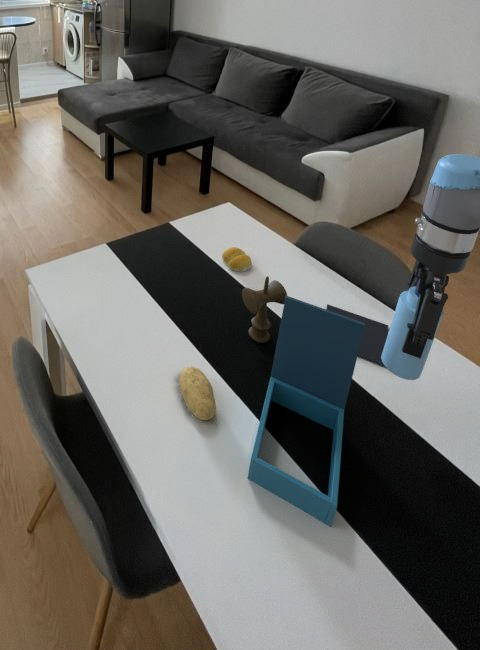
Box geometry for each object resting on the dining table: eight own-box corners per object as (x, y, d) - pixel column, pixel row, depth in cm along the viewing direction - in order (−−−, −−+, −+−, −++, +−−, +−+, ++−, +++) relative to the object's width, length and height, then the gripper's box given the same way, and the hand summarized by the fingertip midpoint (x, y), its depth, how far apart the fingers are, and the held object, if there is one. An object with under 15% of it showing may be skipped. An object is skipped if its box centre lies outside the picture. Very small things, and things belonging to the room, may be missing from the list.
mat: (387, 326, 112) (388, 325, 112) (388, 368, 101) (389, 367, 101) (327, 305, 119) (327, 304, 119) (321, 342, 108) (322, 341, 108)
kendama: (235, 332, 113) (242, 272, 105) (266, 322, 115) (275, 263, 107) (250, 351, 107) (258, 290, 100) (282, 340, 110) (293, 280, 102)
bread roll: (235, 276, 131) (236, 265, 130) (217, 257, 139) (218, 247, 138) (257, 268, 134) (259, 258, 132) (238, 251, 141) (240, 241, 140)
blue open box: (329, 533, 74) (337, 506, 71) (246, 484, 81) (250, 458, 78) (337, 434, 88) (344, 409, 86) (266, 400, 96) (270, 376, 93)
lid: (364, 325, 80) (364, 323, 81) (285, 297, 88) (285, 295, 88) (344, 409, 85) (344, 406, 86) (270, 375, 92) (271, 373, 93)
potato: (202, 377, 101) (203, 358, 99) (222, 425, 91) (224, 406, 89) (174, 381, 101) (175, 362, 98) (191, 430, 91) (193, 411, 88)
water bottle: (419, 359, 85) (447, 279, 77) (422, 386, 80) (453, 303, 72) (380, 345, 88) (404, 267, 81) (381, 370, 83) (406, 290, 76)
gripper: (410, 206, 82) (383, 297, 91) (421, 269, 67) (388, 371, 76) (460, 217, 79) (428, 311, 87) (484, 286, 63) (441, 391, 72)
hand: (409, 339), depth 81 cm, fingers closed on water bottle, 6 cm apart
